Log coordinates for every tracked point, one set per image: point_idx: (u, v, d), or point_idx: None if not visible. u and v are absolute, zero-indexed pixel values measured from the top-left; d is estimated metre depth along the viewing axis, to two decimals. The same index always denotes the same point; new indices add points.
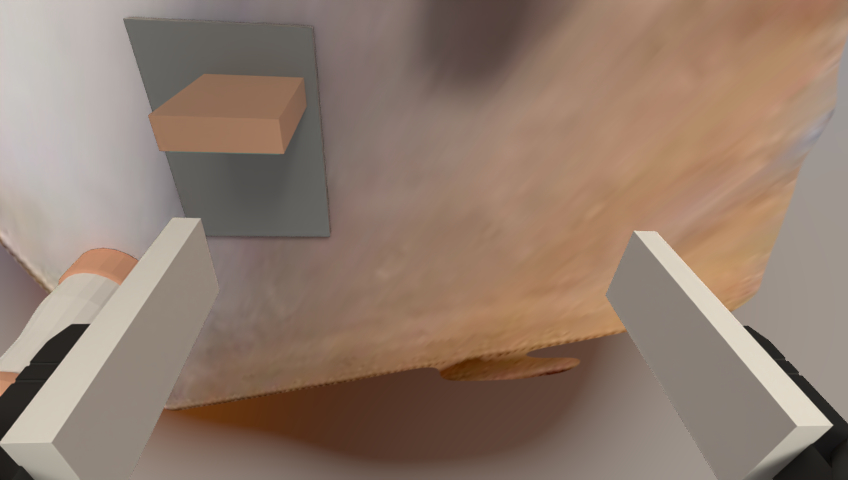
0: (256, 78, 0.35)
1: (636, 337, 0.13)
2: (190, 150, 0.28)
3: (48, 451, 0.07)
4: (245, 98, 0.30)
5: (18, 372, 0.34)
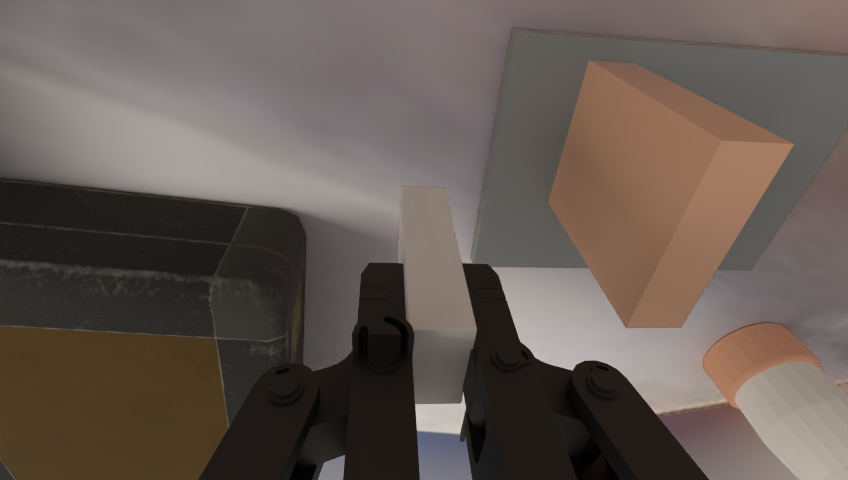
0: (573, 137, 0.22)
1: None
2: (700, 291, 0.16)
3: (435, 337, 0.09)
4: (624, 174, 0.17)
5: None
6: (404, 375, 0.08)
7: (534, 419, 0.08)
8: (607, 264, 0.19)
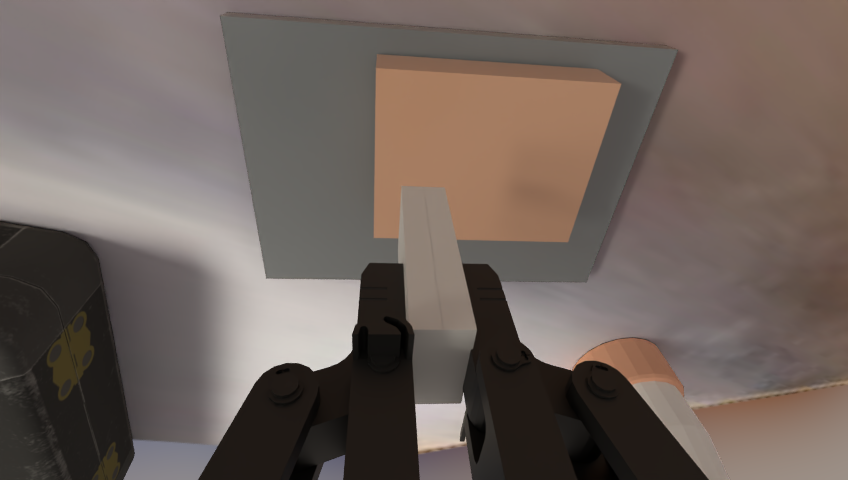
0: (393, 156, 0.19)
1: None
2: None
3: (435, 338, 0.09)
4: (514, 149, 0.19)
5: None
6: (404, 375, 0.08)
7: (534, 418, 0.08)
8: (523, 222, 0.21)
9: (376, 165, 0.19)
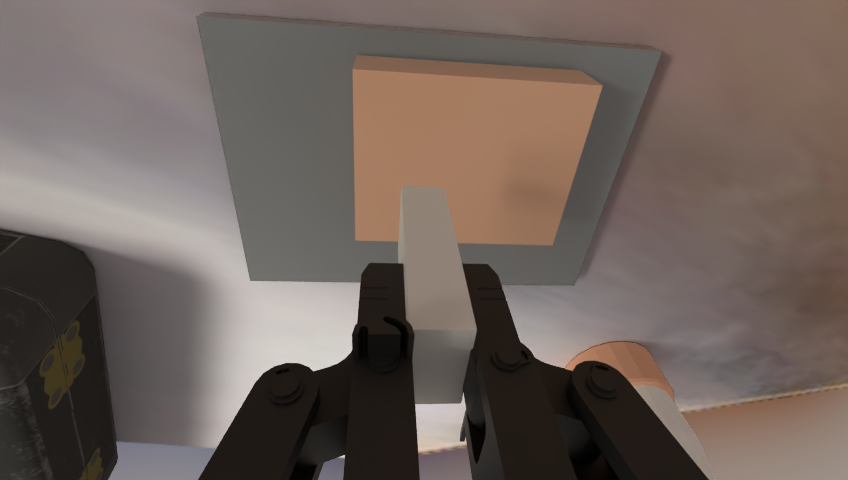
0: (372, 158, 0.18)
1: None
2: None
3: (435, 337, 0.09)
4: (495, 152, 0.19)
5: None
6: (404, 375, 0.08)
7: (534, 418, 0.08)
8: (506, 224, 0.21)
9: (356, 167, 0.18)
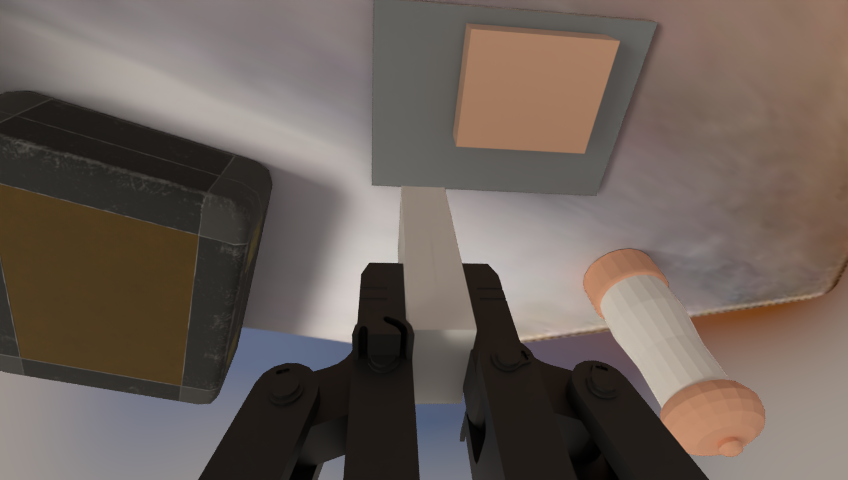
0: (475, 87, 0.29)
1: None
2: None
3: (435, 337, 0.09)
4: (551, 84, 0.30)
5: (675, 392, 0.32)
6: (404, 375, 0.08)
7: (534, 418, 0.08)
8: (555, 137, 0.32)
9: (464, 93, 0.30)
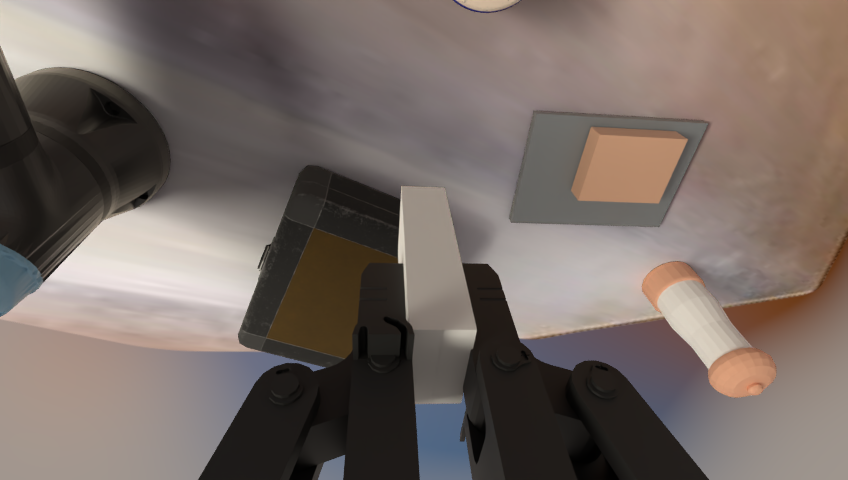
0: (596, 166, 0.47)
1: None
2: None
3: (435, 337, 0.09)
4: (643, 164, 0.47)
5: (718, 357, 0.50)
6: (404, 375, 0.08)
7: (534, 419, 0.08)
8: (641, 194, 0.49)
9: (588, 170, 0.47)
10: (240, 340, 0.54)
